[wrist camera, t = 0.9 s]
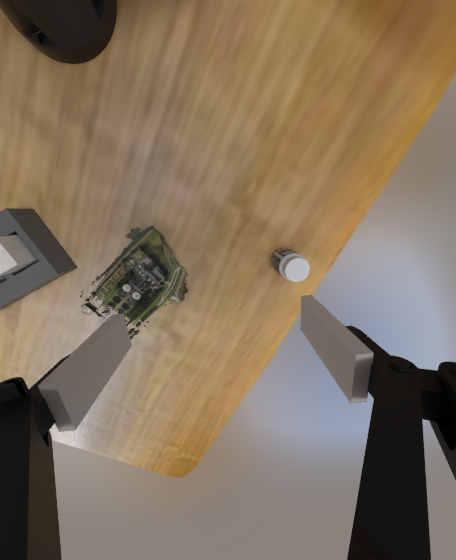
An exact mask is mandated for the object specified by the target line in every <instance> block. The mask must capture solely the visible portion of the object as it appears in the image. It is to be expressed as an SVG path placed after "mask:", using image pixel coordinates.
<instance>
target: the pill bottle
mask: <svg viewBox="0 0 456 560" xmlns="http://www.w3.org/2000/svg"><path fill="white" fill-rule="evenodd" d="M272 266H273V267H274V269H275V270H276V271H277V272H278V273H279V274H280V275H281V276H282V277H284V278H285V279H287V280H290V281H293V282H299V281H302V280H304V279H305V278H306V277H307V276H308V274H309V271H310V266H309V263H308V262H307V261H306V260H305V259H304V257H303V256H301V255H300V254H298V253H296V252H294V251H292V250H290V249H286V248H283V249H279V250H277V251H276V252H275V253H274V254H273V256H272Z"/></svg>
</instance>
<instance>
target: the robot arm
mask: <svg viewBox="0 0 456 560" xmlns="http://www.w3.org/2000/svg"><path fill="white" fill-rule="evenodd" d="M0 7H1V9H2V10H3V12H4V13H5V15H6V16H7V18H8V19H9V20H10V22H11V23H12V24H13V25H14V26H15V28H16V29H17V30H18V31H19V32H20V33H21V34H22V35H23V36H24V37H25V38H26V39H27V40H29V41H30V42H31V43H32V44H33V45H34V46H35V47H36V48H37V49H39V50H40V51H41V52H43V53H44V54H46V55H47V56H49V57H51V58H53V59H55V60H58V61H61V62H66V63H80V62H85V61H87V60H90V59H92V58H93V57H95V56H96V55H98V54H99V53H100V52H101V51H102V50H103V49H104V47H105V46H106V44H107V43H108V41H109V39H110V37H111V35H112V32H113V29H114V25H115V19H116V0H0ZM301 330H302V332H303V333H304V334H305V336H306V338H307V339H308V341H309V342H310V344H311V345H312V347H313V348H314V350H315V351H316V353H317V354H318V355H319V357H320V358H321V360H322V362H323V363H324V364H325V366H326V367H327V369H328V370H329V372H330V373H331V375H332V376H333V378H334V379H335V381H336V382H337V384H338V385H339V387H340V388H341V390H342V391H343V393H344V394H345V396H346V397H347V399H348V400H349V401H350V403H358V402H366V401H367V395H368V392H369V393H370V394H371V396H372V397H373V398H374V403H373V408H372V414H371V420H370V427H369V433H368V439H367V444H366V450H365V456H364V463H363V468H362V475H361V480H360V487H359V492H358V498H357V505H356V511H355V517H354V523H353V529H352V534H351V540H350V546H349V552H348V558H347V560H431V554H430V538H429V522H428V506H427V491H426V490H427V489H426V474H425V458H424V442H423V425H422V419H425V420H429V421H430V423H431V426H432V428H433V430H434V432H435V434H436V437H437V439H438V441H439V444H440V446H441V448H442V450H443V452H444V455H445V457H446V459H447V461H448V464H449V466H450V468H451V471H452V472H453V475H454V477H455V479H456V363H455V362H442V363H441V364H440V365H439V367H438V371H434V370H427V369H419V368H417V367H416V366H415V365H414V364H413V363H412V362H410V361H408V360H406V359H404V358H401V357H397V356H390V355H389V354H388V353H387V352H386V351H384V350H383V349H382V348H381V347H380V346H378V345H377V344H376V343H375V342H374V341H372V340H371V339H370V338H369V337H367V335H366V334H364V333H363V332H362V331H361V330H359V329H357V328H355V327H353V326H344V325H343V324H342V323H341V322H340V321H339V320H338V319H337V318H335V317H334V316H333V315H332V314H331V313H330V312H329V311H328V310H327V309H326V308H325V307H324V306H323V305H322V304H320V303H319V302H318V301H317V300H316V299H315V298H314V297H313V296H312V295H308V296H301ZM131 346H132V344H131V341H130V337H129V333H128V330H127V326H126V322H125V319H124V315H123V314H114V315H112V316H111V317H110V318H109V319H108V320H107V321H105V322H104V323H103V324H102V325H101V326H100V327H99V328H98V329H97V330H96V331H95V332H94V333H93V334H92V335H91V336H90V337H89V338H88V339H87V340H85V341H84V342H83V343H82V344H81V345H80V346H79V347H78V348H77V349H76V350H75V351H74V352H73V353H72V354H70V355H68V356H66V357H65V358H63V359H62V360H60V361H59V362H58V363H57V364H56V365H55V366H54V367H53V368H52V369H51V370H50V371H48V372H47V374H45V375H44V376H43V377H42V378H41V379H40V380H39V381H38V382H37V383H35V384H34V385H33V386H32V387H31V388H30V389H29V390H28V388H27V386H26V383H25V381H24V380H23V378H21V377H17V378H11V379H8V380H6V381H3V382H1V383H0V560H61V548H60V535H59V523H58V511H57V498H56V486H55V474H54V461H53V449H52V437H51V434H50V432H49V429H50V428H51V427H52V426H53V424H54V423H55V424H56V426H57V428H58V430H59V432H62V431H72V430H76V429H77V427H78V426H79V424H80V423H81V421H82V420H83V418H84V417H85V415H86V414H87V412H88V411H89V409H90V408H91V406H92V405H93V403H94V402H95V400H96V399H97V397H98V396H99V394H100V393H101V391H102V390H103V388H104V387H105V385H106V384H107V382H108V381H109V379H110V378H111V376H112V375H113V373H114V372H115V370H116V369H117V367H118V366H119V364H120V363H121V361H122V360H123V358H124V357H125V355H126V354H127V352H128V351H129V349H130V348H131Z"/></svg>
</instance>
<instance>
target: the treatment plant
mask: <svg viewBox="0 0 456 560" xmlns="http://www.w3.org/2000/svg"><path fill="white" fill-rule="evenodd" d="M138 230H139V228H138V227H137V229H131V234H128V235H126V237H127V238H131V239H133V240H134V241H132V242H131V244H130V245H129V246H128V247H127V248H126V249H125V248H124V251H123V252H122V254H121V255H120V256H119V257H117V258H116V259H115V261H114V263H112V264H111V265H110V266H109V268H108V269H107V270H106V271H105V272H107V273H105V272H104V273H102V275H100V276H101V277H102V276H103V275H104V274H105V276H104V278H103V279H102V280H101V282H100V283H99V285H98V286H97V290H96V291H95V292H92V293H91V294H92V295H93V298H94V297H95V296H98V299H100V300H103V303H102V304H101V305H100V307H101V306H102V305H103V304H104V305H103V306H106V307H107V306H108V305H109V306H111V307H112V308H114V309H112V310H115V311H116V310H118V312H119V313H118V314H122V313H124V314H123V315H125V316H126V315H127V318H128V319H130V318H131V319H130V321H129V322H128V323H127V324H126V326H128V324H130V323H131V322H132V321H133V320H134V319H136V318H137V319H136V320H135V322H134V323H133V325H134V324H135V323H136V322H137V321H138V320H139V319H141V318H142V317H143V319H141V322H144V320H146V319H147V318H148V317H149V316H150V315H151V314H152V313H153V312H155V311H156V310H157V309H158V308H159V307H161V306H162V305H163V304H164V303H165V302H166V301H167V300H168V299H169V300H168V301H169V302H170V304H172V303H174V305H176V306H178V305H179V304H180V303H181V302H182V301H183V299H184V298H185V297H184V296H183V295H184V294H185V293H187V291H188V290H187V289H185V287H184V286H185V285H186V283H185V282H186V280H185V278H186V277H187V276H188V274H186V272H184V268H182V269H181V266H179V265H178V263H179V262H176V261H175V259H174V253H171V250H170V249H169V248H168V246H167V245H166V244H165V243H163V241H164V237H162V236H161V235H160V234H159V233H158V232H157V231H156V230H155V229H154V228H153V227H150V228H147V229H146V230H144V231H142V232H141V233H138ZM139 234H140V235H139ZM101 277H98V276H97V278H96V280H97V281H98V280H99V278H101ZM97 281H96V282H97ZM94 282H95V281H93V282H92V283H93V284H94ZM87 292H88V291H87ZM82 294H83V292H82ZM92 295H91V296H92ZM91 296H90V297H89V298H91ZM80 297H82V296H80ZM93 298H92V299H93ZM117 298H118V299H117ZM92 299H91V300H92ZM98 299H95V300H96V302H97V300H98ZM117 300H118V301H117ZM85 301H89V299H86V300H85ZM88 304H89V305H88ZM88 304H85V305H86V306H87V308H84V309H83V310H82V313H86V314H88V315H89V314H90V313H91V311H93V312H95V313H96V314H97V315H98V316H99V317H100V316H102V315H101V314H99V313H98V312H97V311H96V309H97V308H96V307H95V306H93V305H90V303H89V302H88ZM112 305H113V306H112ZM114 305H115V306H114ZM125 305H127V306H128V307H127V306H125ZM92 306H93V307H94V308H93V307H92ZM165 306H166V304H165ZM81 307H83V306H81ZM100 307H99V308H100ZM103 309H104V308H103ZM105 309H108V308H105ZM110 309H111V308H110ZM97 310H98V309H97ZM108 310H109V309H108ZM108 310H106V311H107V312H108ZM102 311H103V310H102ZM121 311H122V312H121ZM107 312H105V311H104V312H102V313H107ZM109 313H110V310H109ZM91 314H92V313H91ZM96 314H95V315H96ZM107 315H108V314H107ZM125 316H124V317H125ZM102 317H103V316H102ZM102 319H103V320H104V317H103V318H102ZM105 319H106V318H105ZM106 320H107V319H106ZM125 322H127V320H125ZM141 322H138V323H137V324H136V327H139V325H140V324H141ZM148 322H149V321H147V323H148ZM144 327H145V326H144ZM147 328H148V327H147ZM133 331H134V329H131V330H129V332H128V333H129V335H130V334H132V332H133ZM138 333H139V330H137V331H135V332H134V334H133V335H131V336H130V339H133V336H134V335H137V334H138Z"/></svg>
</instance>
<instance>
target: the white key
mask: <svg viewBox="0 0 456 560" xmlns="http://www.w3.org/2000/svg"><path fill="white" fill-rule="evenodd" d="M37 260H38V259H37V257H36V256H35V255H34V254H33V252H32V251H31V250H30V249H29V247H28V246H27V245H26V244H25V242H24V241H23V240H22V239H21V237H20V236H19V235H11V236H1V237H0V276H2V275H6V274H9V273H13V272H17V271H19V270H21V269H23V268H24V267H26V266H28V265H30V264H31V263H33V262H35V261H37Z"/></svg>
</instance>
